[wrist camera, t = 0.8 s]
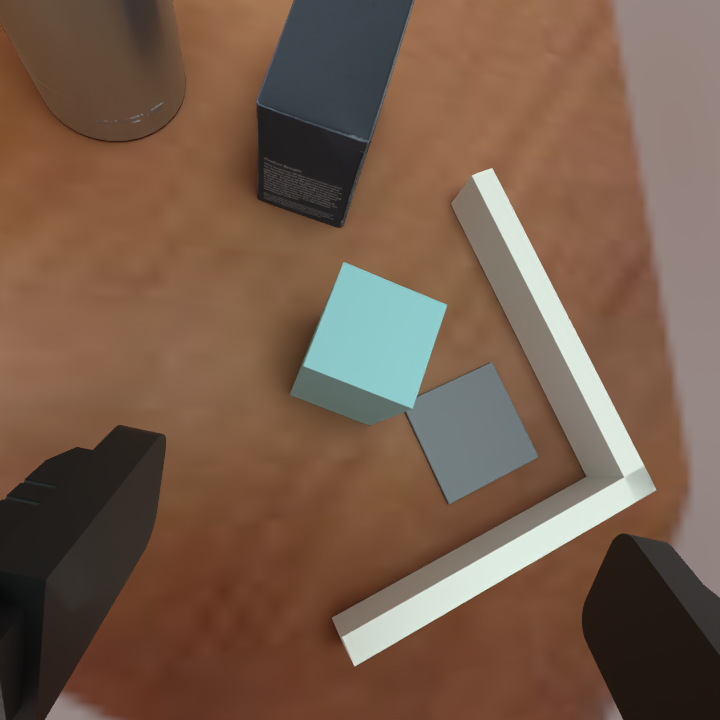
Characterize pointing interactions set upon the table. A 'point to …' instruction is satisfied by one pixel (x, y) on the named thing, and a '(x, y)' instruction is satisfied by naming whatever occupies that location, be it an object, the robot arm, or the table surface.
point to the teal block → (369, 348)
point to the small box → (325, 102)
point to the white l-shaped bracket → (504, 439)
